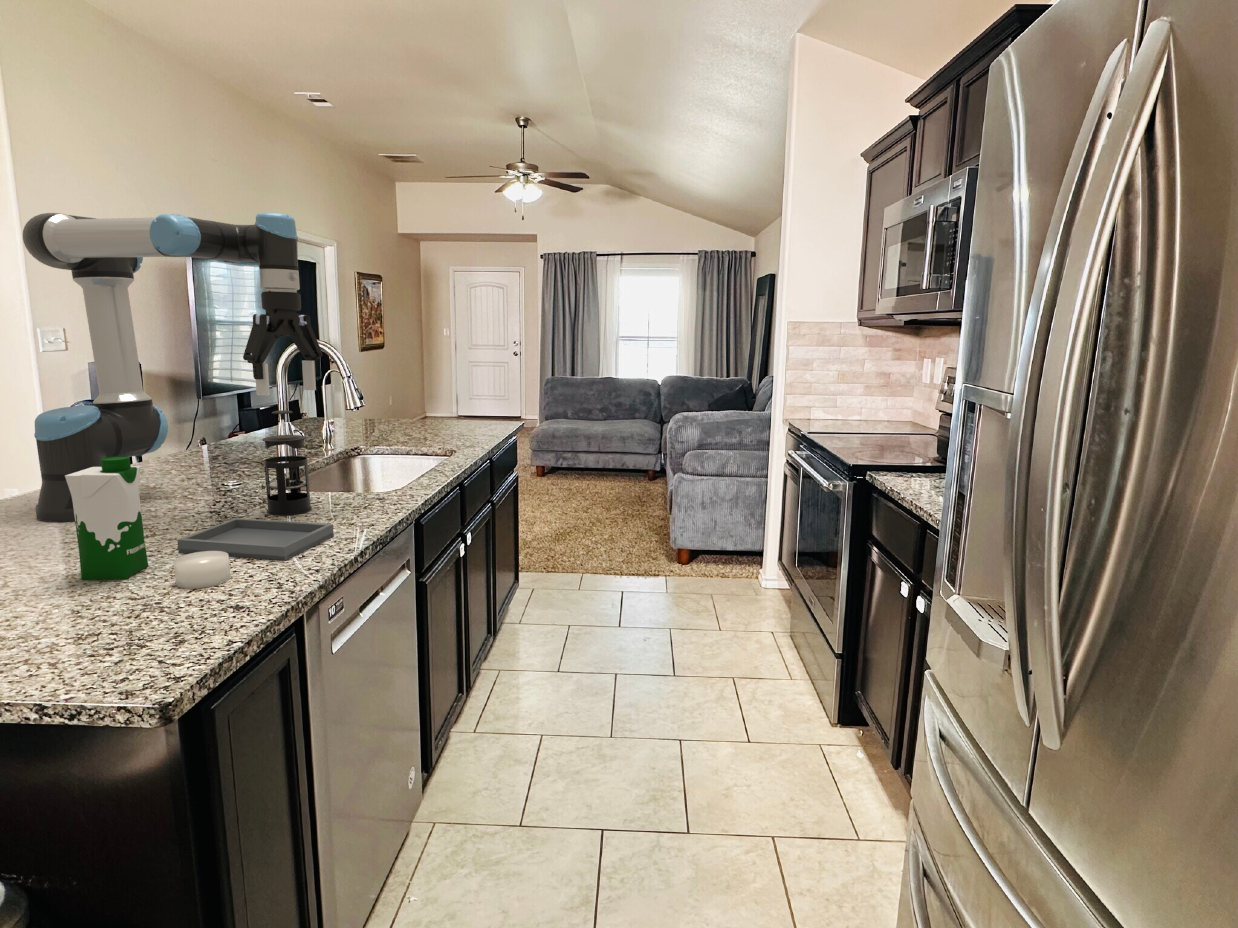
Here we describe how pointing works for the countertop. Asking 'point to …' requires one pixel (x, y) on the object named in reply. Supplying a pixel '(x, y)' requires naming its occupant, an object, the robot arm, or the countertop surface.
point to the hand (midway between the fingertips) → (287, 392)
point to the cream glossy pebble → (202, 569)
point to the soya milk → (108, 519)
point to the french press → (295, 498)
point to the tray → (257, 538)
